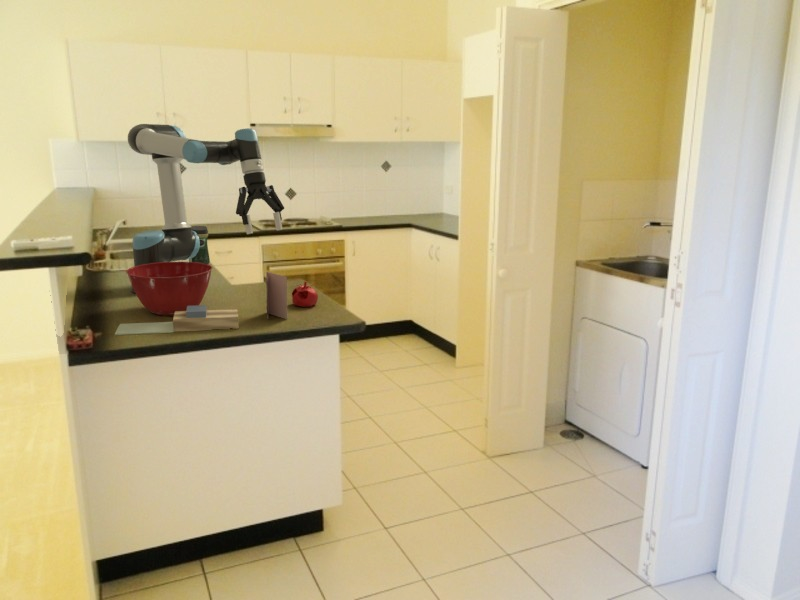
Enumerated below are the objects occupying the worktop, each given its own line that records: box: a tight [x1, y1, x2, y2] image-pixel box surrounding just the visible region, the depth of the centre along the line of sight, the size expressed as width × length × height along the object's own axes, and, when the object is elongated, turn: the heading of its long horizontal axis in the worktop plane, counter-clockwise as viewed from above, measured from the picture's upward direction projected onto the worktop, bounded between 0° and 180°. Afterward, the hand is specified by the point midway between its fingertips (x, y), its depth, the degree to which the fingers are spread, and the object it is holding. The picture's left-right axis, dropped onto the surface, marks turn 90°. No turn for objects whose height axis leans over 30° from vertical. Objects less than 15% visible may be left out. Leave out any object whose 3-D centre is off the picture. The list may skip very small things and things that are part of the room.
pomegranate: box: [291, 280, 319, 308], centre depth 236 cm, size 10×10×9 cm
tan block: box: [172, 308, 240, 333], centre depth 206 cm, size 10×20×4 cm, turn 106°
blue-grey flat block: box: [186, 304, 208, 318], centre depth 204 cm, size 8×6×2 cm
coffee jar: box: [188, 225, 211, 265], centre depth 305 cm, size 10×8×19 cm
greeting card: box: [263, 271, 288, 320], centre depth 218 cm, size 11×7×15 cm, turn 13°
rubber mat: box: [114, 321, 175, 336], centre depth 201 cm, size 11×17×1 cm, turn 106°
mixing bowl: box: [125, 261, 213, 317], centre depth 221 cm, size 28×28×16 cm
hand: (265, 231), depth 227 cm, fingers open, 13 cm apart
